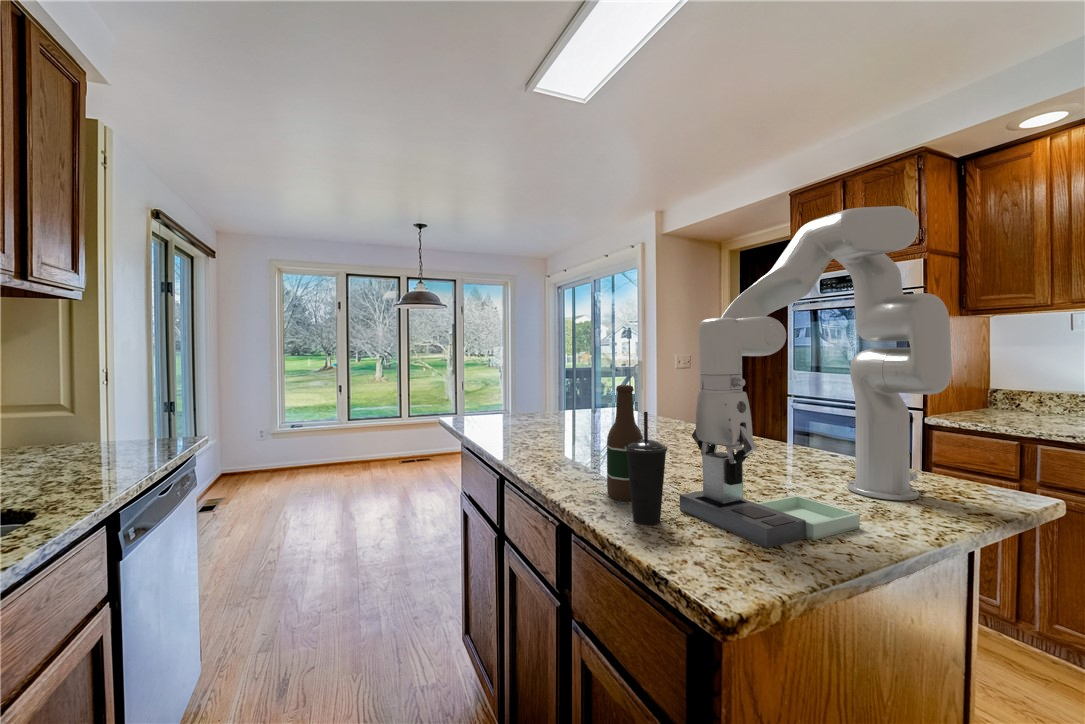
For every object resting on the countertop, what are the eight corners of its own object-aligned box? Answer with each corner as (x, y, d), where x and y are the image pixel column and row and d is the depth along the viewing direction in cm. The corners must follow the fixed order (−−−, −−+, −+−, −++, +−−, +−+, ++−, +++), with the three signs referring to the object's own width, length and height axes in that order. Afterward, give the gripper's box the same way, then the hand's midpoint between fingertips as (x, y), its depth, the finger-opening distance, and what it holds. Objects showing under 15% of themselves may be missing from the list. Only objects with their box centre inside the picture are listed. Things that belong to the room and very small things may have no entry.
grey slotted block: (714, 503, 94) (714, 488, 94) (805, 538, 76) (805, 519, 76) (679, 509, 90) (679, 494, 90) (767, 548, 72) (766, 528, 72)
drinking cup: (640, 510, 90) (639, 408, 90) (675, 520, 84) (675, 411, 84) (617, 520, 84) (616, 412, 84) (653, 531, 79) (652, 415, 79)
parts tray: (796, 508, 91) (796, 495, 91) (859, 528, 80) (859, 514, 80) (752, 517, 86) (752, 503, 86) (813, 540, 75) (813, 524, 75)
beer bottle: (644, 502, 95) (643, 386, 94) (606, 500, 96) (605, 386, 96) (643, 492, 102) (642, 384, 102) (608, 490, 104) (607, 384, 104)
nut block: (722, 492, 90) (721, 450, 90) (743, 499, 86) (742, 455, 85) (703, 496, 88) (702, 453, 88) (723, 503, 83) (722, 458, 83)
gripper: (774, 385, 80) (776, 488, 80) (702, 381, 96) (704, 468, 96) (742, 387, 77) (744, 495, 77) (674, 383, 93) (676, 472, 93)
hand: (722, 479), depth 87 cm, fingers closed on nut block, 5 cm apart
